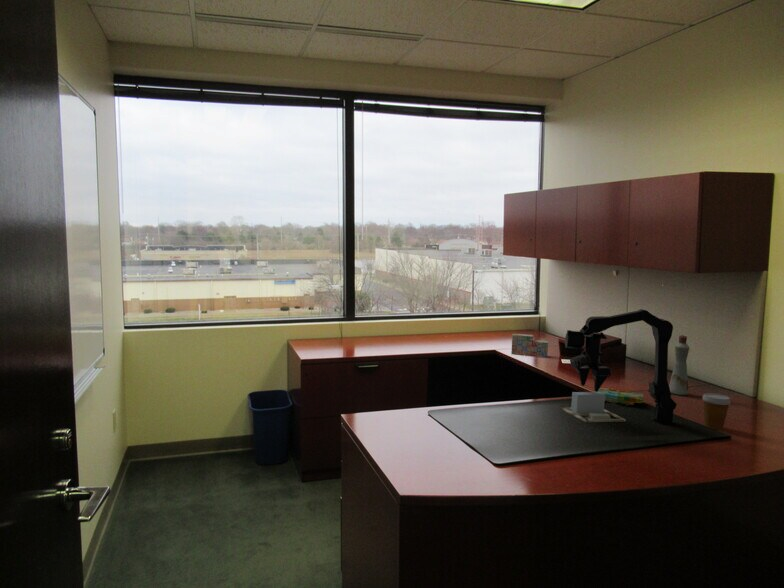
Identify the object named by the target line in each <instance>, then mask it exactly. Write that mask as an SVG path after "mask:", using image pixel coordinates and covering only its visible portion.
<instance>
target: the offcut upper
mask: <svg viewBox="0 0 784 588" xmlns="http://www.w3.org/2000/svg"><path fill="white" fill-rule="evenodd" d="M588 417H590V418H591V419H598V420H599V419H610V418H611V415H608V414H607V413H605V412H604V413H589V416H588Z"/></svg>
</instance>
